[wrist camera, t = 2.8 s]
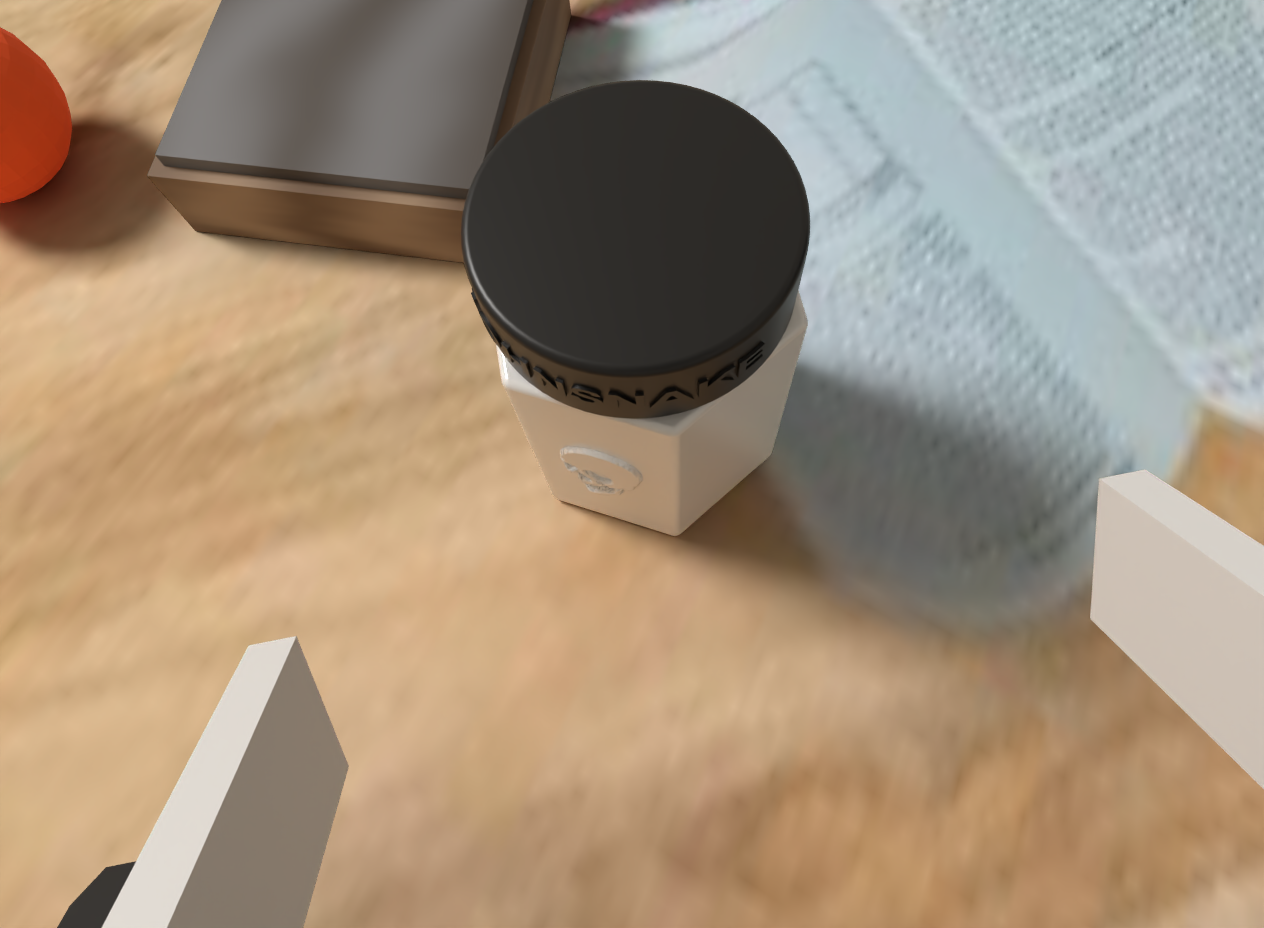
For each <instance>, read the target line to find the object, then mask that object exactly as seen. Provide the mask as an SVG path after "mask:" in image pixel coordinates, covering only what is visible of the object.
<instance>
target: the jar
mask: <svg viewBox="0 0 1264 928" xmlns="http://www.w3.org/2000/svg"><path fill="white" fill-rule="evenodd" d="M809 237H810V214H809V204H808V199H807V195H806V190H805V187H804V184H803V181H802V178H801V176H800V173H799V171H798V169H797V167H796V165H795V163H794V161H793V160H792V158H791V156H790V155H789V153H788V152H787V150H786V149H785V147H784V146H783V145H782V144H781V142H780V141H779V140H778V138H777V137H776V136H775V135H774V134H773V133H772V132H771V131H770V130H769V129H768V128H767V127H766V126H765V125H763V124H762V123H761V122H760V121H759V120H758V119H756V118H755V117H754V116H753V115H751V114H750V113H748V112H747V111H745V110H744V109H743V108H741V107H739V106H737V105H736V104H734V103H732V102H730V101H728V100H726V99H724V98H722V97H720V96H718V95H715V94H713V93H710V92H707V91H704V90H702V89H698V88H695V87H691V86H687V85H682V84H677V83H672V82H663V81H648V80H634V81H620V82H612V83H605V84H601V85H596V86H591V87H588V88H584V89H581V90H578V91H575V92H572V93H569V94H567V95H564V96H562V97H560V98H557V99H555V100H553V101H551V102H549V103H547V104H545V105H544V106H542V107H540V108H538V109H537V110H535V111H533V112H532V113H531V114H529V115H528V116H526V117H525V118H523V119H522V120H521V121H520V122H518V123H517V124H516V125H515V126H513V127H512V128H511V129H510V130H509V131H508V132H507V133H506V134H505V135H504V136H503V137H502V138H501V139H500V140H499V141H498V142H497V144H496V145H495V146H494V147H493V148H492V150H491V151H490V152H489V153H488V155H487V156H486V158H485V159H484V161H483V162H482V164H481V165H480V167H479V169H478V171H477V173H476V175H475V176H474V178H473V181H472V183H471V186H470V188H469V190H468V194H467V197H466V200H465V204H464V209H463V214H462V222H461V247H462V255H463V261H464V265H465V269H466V272H467V276H468V279H469V281H470V284H471V286H472V293H471V294H472V297H473V300H474V302H475V304H476V307H477V309H478V311H479V314H480V316H481V318H482V320H483V323H484V325H485V327H486V329H487V331H488V332H489V334H490V336H491V338H492V339H493V341H494V342H495V343H496V349H497V355H498V361H499V368H500V374H501V380H502V384H503V387H504V389H505V391H506V393H507V396H508V398H509V400H510V402H511V404H512V407H513V409H514V411H515V413H516V416H517V418H518V420H519V422H520V425H521V427H522V429H523V431H524V433H525V436H526V438H527V440H528V442H529V445H530V447H531V449H532V451H533V454H534V456H535V458H536V460H537V462H538V465H539V467H540V469H541V471H542V474H543V476H544V478H545V480H546V483H547V485H548V487H549V489H550V491H551V494H552V496H553V497H554V498H556V499H557V500H560V501H564V502H567V503H570V504H573V505H577V506H580V507H583V508H586V509H589V510H593V511H596V512H599V513H602V514H605V515H608V516H612V517H615V518H618V519H621V520H624V521H628V522H631V523H634V524H637V525H640V526H643V527H647V528H650V529H653V530H656V531H659V532H662V533H666V534H669V535H672V536H677V535H679V534H681V533H682V532H683V531H685V530H686V529H687V528H688V527H689V526H690V525H691V524H692V523H694V522H695V521H696V520H697V519H698V518H699V517H700V516H702V515H703V514H704V513H705V512H706V511H707V510H708V509H710V508H711V507H712V506H713V505H714V504H715V503H716V502H718V501H719V500H720V499H721V498H722V497H723V496H724V495H726V494H727V493H728V492H729V491H730V490H731V489H732V488H734V487H735V486H736V485H737V484H738V483H739V482H741V481H742V480H743V479H744V478H745V477H746V476H747V475H749V474H750V473H751V472H752V471H753V470H754V469H755V468H757V467H758V466H759V465H760V464H761V463H762V462H764V461H765V460H766V459H767V458H768V457H769V456H770V455H771V454H772V452H773V448H774V445H775V441H776V437H777V434H778V430H779V427H780V423H781V419H782V416H783V412H784V409H785V405H786V401H787V398H788V394H789V391H790V387H791V383H792V380H793V376H794V373H795V369H796V365H797V362H798V358H799V355H800V351H801V348H802V344H803V340H804V337H805V333H806V330H807V326H808V320H807V316H806V313H805V310H804V307H803V303H802V300H801V297H800V294H799V290H798V289H799V285H800V281H801V276H802V272H803V268H804V264H805V260H806V256H807V251H808V245H809Z"/></svg>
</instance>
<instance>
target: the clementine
mask: <svg viewBox="0 0 1264 928" xmlns="http://www.w3.org/2000/svg"><path fill="white" fill-rule="evenodd" d="M71 133H72V122H71V114H70V110H69V107H68V103H67V100H66V97H65V94H64V92H63V90H62V88H61V86H60V85H59V83H58V81H57V79H56V78H55V76H54V75H53V73H52V72H51V70H50V69H49V67H48V66H47V65H46V63H45V62H44V60H42V59H41V58H40V57H39V56H38V55H37V54H36V53H34V52H33V51H32V50H31V49H30V48H29V47H28V46H26V45H25V44H24V43H23V42H22V41H21V40H19V39H18V38H17V37H16V36H15V35H13V34H12V33H10V32H8V31H6V30H4V29H2V28H0V203H5V202H11V201H14V200H17V199H20V198H24V197H26V196H28V195H29V194H31V193H33V192H35V191H37V190H39V189H40V188H41V187H43V186H44V185H45V184H46V183H48V182H49V181H50V180H51V179H52V178H53V177H54V176H55V175H56V174H57V172H58V171H59V170H60V169H61V168H62V166H63V164H64V162H65V160H66V158H67V156H68V152H69V147H70V142H71Z"/></svg>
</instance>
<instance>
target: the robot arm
mask: <svg viewBox="0 0 1264 928" xmlns="http://www.w3.org/2000/svg"><path fill="white" fill-rule="evenodd" d="M1090 619H1091V620H1092V621H1093V622H1094V623H1095V624H1096V625H1097V626H1098V627H1099V628H1100V629H1101V630H1102V631H1103V632H1104V633H1105V634H1106V635H1107V636H1108V637H1109V638H1110V639H1111V640H1112V641H1113V642H1114V643H1115V644H1117V645H1118V646H1119V647H1120V648H1121V649H1122V650H1123V651H1124V652H1125V653H1126V654H1127V655H1128V656H1129V657H1130V658H1131V659H1132V660H1133V661H1134V662H1135V663H1136V664H1137V665H1138V666H1139V667H1140V668H1141V669H1142V670H1143V671H1144V672H1145V673H1146V674H1147V675H1148V676H1149V677H1150V678H1151V679H1152V680H1153V681H1154V682H1155V683H1156V684H1157V685H1158V686H1159V687H1160V688H1161V689H1162V690H1163V691H1164V692H1165V693H1166V694H1167V695H1168V696H1169V697H1170V698H1171V699H1172V700H1173V701H1175V702H1176V703H1177V704H1178V705H1179V706H1180V707H1181V708H1182V709H1183V710H1184V711H1185V712H1186V713H1187V714H1188V715H1189V716H1190V717H1191V718H1192V719H1193V720H1194V721H1195V722H1196V723H1197V724H1198V725H1199V726H1200V727H1201V728H1202V729H1203V730H1204V731H1205V732H1206V733H1207V734H1208V735H1209V736H1210V737H1211V738H1212V739H1213V740H1214V741H1215V742H1216V743H1217V744H1218V745H1219V746H1220V747H1221V748H1222V749H1223V750H1224V751H1225V752H1226V753H1227V754H1228V755H1229V756H1230V757H1231V758H1233V759H1234V760H1235V761H1236V762H1237V763H1238V764H1239V765H1240V766H1241V767H1242V768H1243V769H1244V770H1245V771H1246V772H1247V773H1248V774H1249V775H1250V776H1251V777H1252V778H1253V779H1254V780H1255V781H1256V782H1257V783H1258V784H1259V785H1260V786H1261V787H1262V788H1263V789H1264V546H1263V545H1261V544H1260V543H1258V542H1257V541H1255V540H1254V539H1252V538H1251V537H1249V536H1248V535H1246V534H1244V533H1243V532H1241V531H1240V530H1238V529H1237V528H1235V527H1234V526H1232V525H1230V524H1229V523H1227V522H1226V521H1224V520H1223V519H1221V518H1220V517H1218V516H1217V515H1215V514H1213V513H1212V512H1210V511H1209V510H1207V509H1206V508H1204V507H1203V506H1201V505H1199V504H1198V503H1196V502H1195V501H1193V500H1192V499H1190V498H1189V497H1187V496H1186V495H1184V494H1182V493H1181V492H1179V491H1178V490H1176V489H1175V488H1173V487H1172V486H1170V485H1168V484H1167V483H1165V482H1164V481H1162V480H1161V479H1159V478H1158V477H1156V476H1155V475H1153V474H1151V473H1150V472H1148V471H1147V470H1140V471H1135V472H1130V473H1125V474H1120V475H1115V476H1109V477H1104V478H1099V489H1098V504H1097V520H1096V536H1095V552H1094V567H1093V583H1092V599H1091V615H1090ZM348 767H349V766H348V763H347V761H346V758H345V756H344V753H343V751H342V748H341V746H340V743H339V741H338V738H337V736H336V733H335V731H334V728H333V726H332V723H331V721H330V719H329V716H328V714H327V711H326V709H325V706H324V704H323V701H322V699H321V696H320V694H319V691H318V689H317V686H316V684H315V681H314V679H313V676H312V674H311V671H310V669H309V666H308V664H307V661H306V659H305V656H304V654H303V651H302V649H301V646H300V644H299V642H298V639H297V637H296V636H295V637H289V638H284V639H279V640H274V641H269V642H264V643H259V644H254V645H249V646H248V648H247V650H246V652H245V654H244V656H243V657H242V659H241V661H240V663H239V665H238V667H237V669H236V671H235V673H234V675H233V677H232V679H231V680H230V682H229V684H228V686H227V688H226V690H225V692H224V694H223V696H222V698H221V700H220V702H219V703H218V705H217V707H216V709H215V711H214V713H213V715H212V717H211V719H210V721H209V723H208V725H207V727H206V728H205V730H204V732H203V734H202V736H201V738H200V740H199V742H198V744H197V746H196V748H195V750H194V751H193V753H192V755H191V757H190V759H189V761H188V763H187V765H186V767H185V769H184V771H183V773H182V775H181V776H180V778H179V780H178V782H177V784H176V786H175V788H174V790H173V792H172V794H171V796H170V798H169V799H168V801H167V803H166V805H165V807H164V809H163V811H162V813H161V815H160V817H159V819H158V821H157V823H156V824H155V826H154V828H153V830H152V832H151V834H150V836H149V838H148V840H147V842H146V844H145V846H144V847H143V849H142V851H141V853H140V855H139V857H138V859H137V861H136V862H131V863H126V864H121V865H116V866H111V867H106V868H105V869H104V870H103V871H102V872H101V873H100V874H99V875H98V877H97V878H96V879H95V880H94V881H93V882H92V883H91V884H90V885H89V886H88V887H87V888H86V889H85V890H84V891H83V892H82V893H81V895H80V896H79V897H78V898H77V899H76V900H75V901H74V902H73V903H72V904H71V905H70V906H69V908H68V910H67V912H66V913H65V915H64V917H63V919H62V920H61V922H60V924H59V926H58V927H57V928H303V926H304V923H305V919H306V915H307V912H308V908H309V905H310V901H311V898H312V894H313V891H314V887H315V884H316V880H317V877H318V873H319V870H320V866H321V863H322V859H323V855H324V852H325V848H326V845H327V841H328V838H329V834H330V831H331V827H332V824H333V820H334V817H335V813H336V810H337V806H338V802H339V799H340V795H341V792H342V788H343V785H344V781H345V778H346V774H347V771H348Z"/></svg>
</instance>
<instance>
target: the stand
mask: <svg viewBox="0 0 1264 928" xmlns="http://www.w3.org/2000/svg"><path fill="white" fill-rule="evenodd" d="M570 17H571V9H570V2H569V0H222V1H221V3H220V5H219V8H218V10H217V12H216V15H215V17H214V19H213V22H212V24H211V26H210V28H209V31H208V33H207V35H206V38H205V40H204V42H203V45H202V47H201V49H200V52H199V54H198V56H197V59H196V61H195V63H194V66H193V68H192V70H191V73H190V75H189V77H188V79H187V82H186V84H185V86H184V89H183V91H182V93H181V96H180V98H179V100H178V103H177V105H176V107H175V110H174V112H173V114H172V117H171V119H170V121H169V123H168V126H167V128H166V130H165V133H164V135H163V137H162V140H161V142H160V144H159V147H158V149H157V151H156V154H155V158H154V160H153V163H152V165H151V167H150V170H149V172H148V174H147V176H148V178H149V179H150V180H151V181H152V182H153V183H154V184H155V186H156V187H157V188H158V189H159V190H160V191H161V192H162V193H163V195H164V196H165V197H166V198H167V199H168V200H169V201H170V203H171V204H172V205H173V206H174V207H175V208H176V209H177V210H178V212H179V213H180V214H181V215H182V216H183V217H184V218H185V220H186V221H187V222H188V223H189V224H190V225H191V226H192V228H193V229H194V230H195V231H200V232H208V233H217V234H225V235H234V236H242V237H251V238H259V239H268V240H276V241H284V242H293V243H301V244H310V245H318V246H327V247H335V248H344V249H352V250H361V251H369V252H378V253H386V254H394V255H403V256H411V257H420V258H428V259H437V260H445V261H454V262H462V263H464V261H463V255H462V247H461V222H462V214H463V209H464V204H465V200H466V197H467V194H468V190H469V188H470V186H471V183H472V181H473V178H474V176H475V175H476V173H477V171H478V169H479V167H480V165H481V164H482V162H483V161H484V159H485V158H486V156H487V155H488V153H489V152H490V151H491V150H492V148H493V147H494V146H495V145H496V144H497V142H498V141H499V140H500V139H501V138H502V137H503V136H504V135H505V134H506V133H507V132H508V131H509V130H510V129H511V128H512V127H513V126H515V125H516V124H517V123H518V122H520V121H521V120H522V119H523V118H525V117H526V116H528V115H529V114H531V113H532V112H533V111H535V110H537V109H538V108H540V107H542V106H544V105H545V104H547V103H549V101H550V97H551V93H552V89H553V85H554V81H555V77H556V73H557V69H558V65H559V61H560V57H561V53H562V49H563V45H564V41H565V37H566V33H567V29H568V25H569V21H570Z"/></svg>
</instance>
